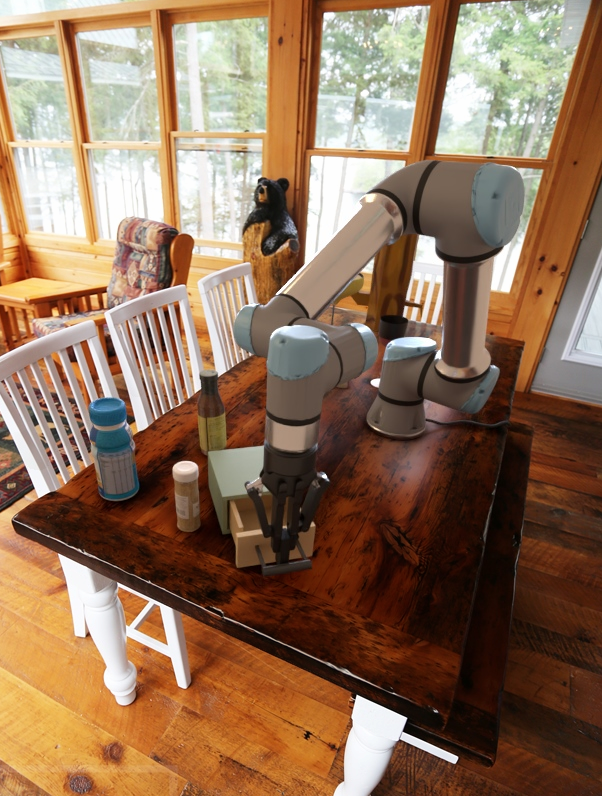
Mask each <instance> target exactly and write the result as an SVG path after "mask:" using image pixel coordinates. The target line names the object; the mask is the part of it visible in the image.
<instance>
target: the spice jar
mask: <svg viewBox="0 0 602 796" xmlns="http://www.w3.org/2000/svg"><path fill="white" fill-rule="evenodd" d="M199 474H200V473H199V466H198V464H197V463H195V462H193V461H190V460H182V461H178V462H176V463H174V465H173V467H172V478H173V481H174V482H173V483H174V500H175V509H176V510H175V511H176V517H177V518H176V520H177V523H176V526H177V529H178V530H180V531H182V532H184V533H193V532H195V531H197V530H198V529H199V528H201V524H202V523H201V513H200V512H201V511H200V509H201V508H200V492H199Z"/></svg>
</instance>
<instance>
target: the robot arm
mask: <svg viewBox="0 0 602 796" xmlns="http://www.w3.org/2000/svg"><path fill="white" fill-rule="evenodd" d="M525 193H526V192H525V183H524V179H523V176H522V174H521V173H520V172H519V170H518V169H517V168H515V167H514V166H511V165H506V164H505V165H504V164H498V163H496V162H489V161H488V162H484V163H482V162H466V161H465V162H464V161H452V160H451V161H448V160H438V159H426V160H425V159H424V160H420V161H416V162H413V163H411V164H408V165H406V166H403V167H402V168H399V169H398V170H395V171H394V172H392V173H390V174H389V175H387V176H386V177H384V178H383V179H381V180H379V182H377V183H376V184H375V185H374V186H372V187H371V188H370V189H369V190H368V191H367V192H365V193H364V195H363V196H362V197H361V198H360V199H359V200H358V202H357V203H356V205H355V209H354V213H353V214H352V216H350V218H348V220H346V222H345V223H343V225H341V227H340V228H339V229H338V230H337V231H336V232H335V233H334V234H333V235H332V236H331V237H330V238H329V239H328V240H327V241H326V242H325V243H324V244H323V246H321V247H320V249H319V250H318V251H317V252H316V253H314V255H313V256H311V258H310V259H309V260H308V261H307V262H305V264H304V265H303V266H302V267H301V268H300V269H299V270H298V271H297V272H296V274H294V275H293V276H292V278H290V279H289V280H288V281H287V283H286V284H285V285H283V286H282V287H281V289H280V290H279V291H278V292H277V293H276V294H275V295H274V296H273V297H272V298H271V299H270V300H269V301H268V302H267V303H266V304H265V305H264V304H262V303H249V304H245V305H244V306H242V308H240V310H239V311H238V312H237V314H236V316H235V318H234V321H233V328H232V334H233V338H234V341H235V343H236V344H237V346H238V347H239V348H240V349H241V350H244V351H246V352H248V353H249V354H252V355H254V356H256V357H258V358H263V359H266V362H265V365H266V376H267V377H266V405H265V419H264V424H265V425H264V441H263V446H264V457H263V468H262V470H261V472H260V474H259V477H260V478H258V479H257V480H255V481H254V482H251V481H247V482H245V484H244V486H245V488H246V491H247V494H248V496H249V497H250V498H251V499H252V501H253V503H254V507H255V511H256V514H257V518H258V522H259V525H260V528H261V531H262V533H263V536H264V538H269V537H271V548H272V550H273V552H274V553H275V560H276V563H275V564H276V565H277V564H283V563H290V560H289V555H290V550H294V549H295V547H296V540H298V539H299V535H298V533H300V532H307V531H308V530H309V528H310V526H311V523H312V522H314V518H315V516H316V513H317V510H318V508H319V505H320V503H321V500H322V499H323V495H324V494H325V493H326V491H327V490H328V489H329V488H330V486H331V484H332V483H331V480H330V479H329V478H328V476H327V475H326V473H325V472H323V471H320V472H318V470H317V468H316V463H317V455H318V446H319V445H318V443H319V438H320V427H321V419H322V409H323V402H324V401H323V400H324V395H325V394H326V393H328V392H330V391H332V390H333V389H335V388H338V387H337V386H339V385H342V384H344V383H346V382H348V383H349V382H350V381H351V380H354V379H355V380H356V379H358V378H359V377H360V376H362V375H363V374H364V373H365V372H368V370H370V369H371V368H372V367H373V366H374V365H375V363H376V361H377V358H378V355H379V344H378V340H377V337H376V335H375V333H374V331H373V330H371V329H369V328H368V327H367V326H365V324H363V323H359V322H353V323H352V322H351V323H343V324H341V325H340V326H336V325H333V326H332V325H331V324H329V323H325V322H321V321H318V319H320V318H321V316H323V314H324V313H325V312H327V310H328V309H329V307H331V306H332V303H333V302H334V301H335V300H336V299H337V297H338V296H339V295H340V294H341V293H342V292H343V291H344V290H345V289H346V288H347V286H348V285H349V284H350V283H351V282H352V281H353V280H354V279H355V278H356V277H357V275H358V274H359V273H361V272H362V271H363V270H364V269H365V268H366V267H367V266H368V265H369V264H370V263H371V261H373V259H374V258H375V256H376V255H377V253H378V252H379V251H380V250H381V249H382V248H383V247H384V246H387V245H391V244H393V243H395V242H396V241H397V240H398V239H399V238H400V237H401V236H402V235H406V234H419V236H425V237H430V238H434V253H435V255H436V257H437V258H438V259H440V260H441V261H443V269H442V270H443V273H442V312H441V313H442V318H441V319H442V320H441V348H440V349H439V350H437V349H438V344H437V341H435V340H433V339H431V338H427V337H422V336H421V337H419V336H407V337H405V336H404V338H399V339H395V340H393V341H391V342H390V343H389V344H388V345H387V346H386V347H385V350H384V354H383V357H382V365H381V369H380V377H379V379H380V382H379V388H377V389H378V390H377V395H376V397H375V399H374V401H373V402H372V404H371V406H370V408H369V410H368V412H367V414H366V417H365V426H366V427H367V429H369V430H370V431H371V432H373V433H374V434H375V435H378V436H380V437H383V438H386V439H391V440H398V441H407V440H408V441H409V440H415V439H418V438H420V437H421V436H423V435H424V433H425V431H426V426H427V422H428V423H432V424H435V425H439V426H453V425H456V424H468V425H474V426H478V427H483V428H489V429H492V428H493V429H494V428H498V427H500V426H503V425H507V426H508V427H512V424H511V423H510V422H509V421H508V420H503V421H500V422H498V423H495V424H486V423H482V422H476V421H473V420H465V419H462V420H461V419H460V420H453V421H447V422H443V421H438V420H435V419H431V418H428V417H426V411H425V404H424V403H425V400H426V401H428V402H431V403H434V404H438V405H441V406H442V407H445V408H447V409H452V410H453V411H454V410H455V411H457V412H458V413H459V412H460V413H465V414H470V415H475V414H477V413H479V412H480V411H481V410H482V408H483V407H484V406H485V404H486V403H487V401H488V400H489V398H490V396H491V394H492V392H493V391H494V389H495V386H496V384H497V382H498V379H499V377H500V373H501V371H500V370H501V369H500V368H499V367H497V366H496V365H494V364H492V365H491V361H492V357H491V354H490V351H488V350H487V348H486V347H485V345H486V337H487V326H488V319H489V309H490V300H491V290H492V281H493V272H494V262H495V257H497V256H498V255H499V254H500V253H502V252H503V250H504V248H505V246H507V245H509V244H510V243H511V242H512V240H513V239H514V238H515V236H516V234H517V232H518V229H519V227H520V223H521V217H522V215H523V212H524V206H525V198H526V197H525ZM263 486H265V487H266V488H267V489H268V490H269V492H270V493H271V494H272V512H271V525H270V524H268V520H267V516H266V512H265V508H264V504H263V501H262V499H261V496H262V493H263V490H262V488H263ZM306 490H307V493H306V495H305V498H304V492H306ZM287 497H288V508H287V521H286V526H287V529H286V528H283V518H284V505H286V498H287ZM303 499H304V501H303ZM301 505H302V506H301ZM300 507H301V511H300Z"/></svg>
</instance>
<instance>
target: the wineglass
mask: <svg viewBox="0 0 602 796" xmlns="http://www.w3.org/2000/svg"><path fill="white" fill-rule="evenodd" d="M408 325H409V319H408V318H407V317H405V316H403V317H402V316H398V315H384V316H382V317H380V323H379V331H378V339H379V342H380V344H381V345H382V346H383V347H385V348H386V346H387V345H388V344H389V343H390V342H391V341H393V340H395V339H399V338H405V336H406V334H407V333H406V332H407V329H408ZM379 382H380V378H374V379H372V380H371V381H370V384H371V386H373V387H375V388H377V389H379Z"/></svg>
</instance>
